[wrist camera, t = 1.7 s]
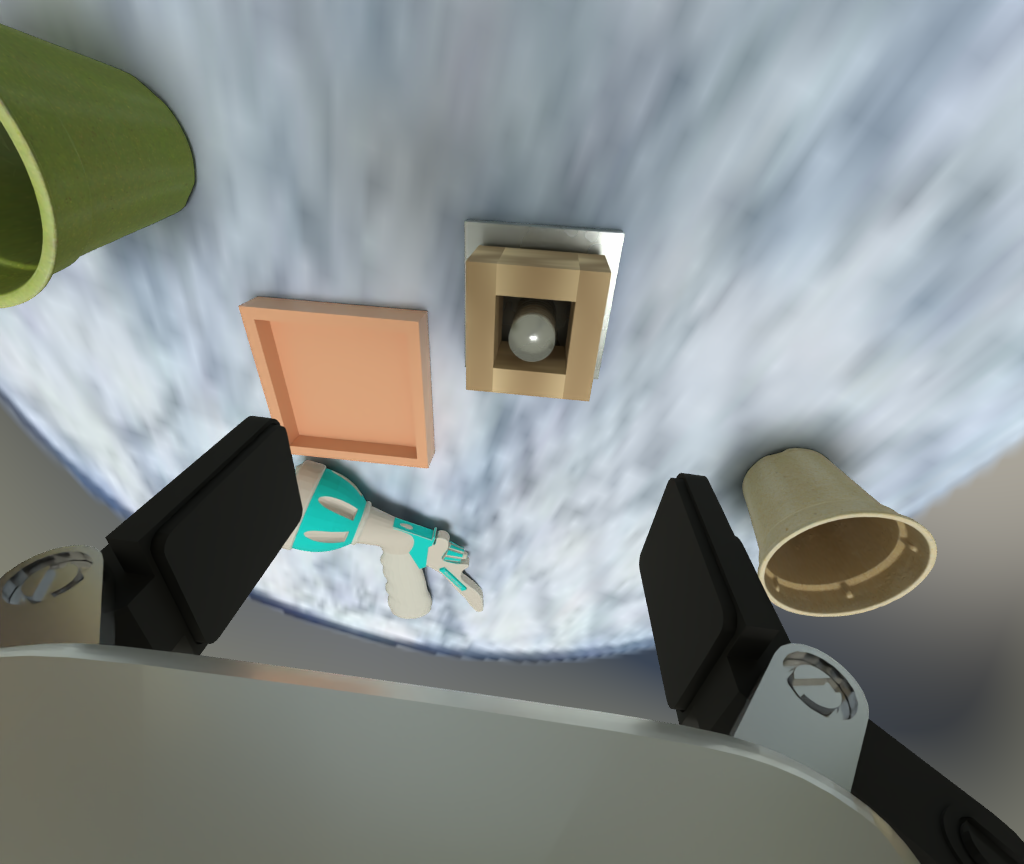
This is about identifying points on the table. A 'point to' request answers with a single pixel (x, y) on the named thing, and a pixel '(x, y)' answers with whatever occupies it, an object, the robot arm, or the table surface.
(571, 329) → the wooden ring
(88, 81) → the plant pot
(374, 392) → the terracotta tray
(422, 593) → the garden hose nozzle
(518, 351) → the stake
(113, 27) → the table surface
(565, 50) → the table surface
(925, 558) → the flower pot
